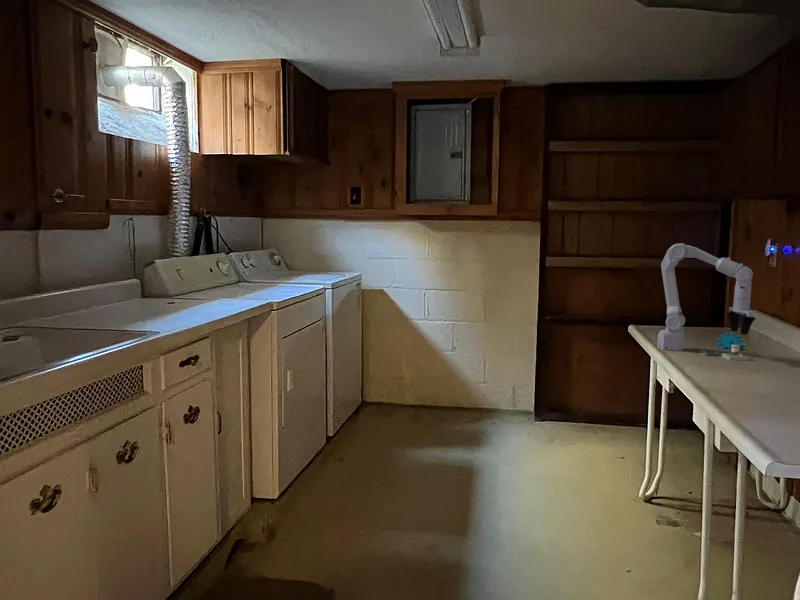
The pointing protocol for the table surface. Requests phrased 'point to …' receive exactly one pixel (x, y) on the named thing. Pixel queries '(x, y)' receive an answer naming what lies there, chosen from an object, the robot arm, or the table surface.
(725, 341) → the gear
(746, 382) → the table surface
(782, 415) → the table surface
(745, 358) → the parts tray
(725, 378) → the table surface
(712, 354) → the grey square holder
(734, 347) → the cylinder
